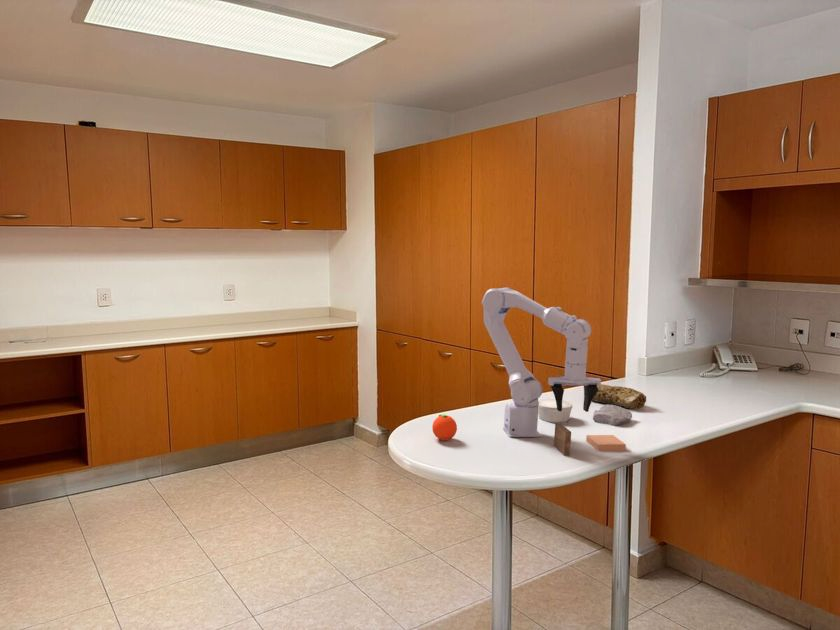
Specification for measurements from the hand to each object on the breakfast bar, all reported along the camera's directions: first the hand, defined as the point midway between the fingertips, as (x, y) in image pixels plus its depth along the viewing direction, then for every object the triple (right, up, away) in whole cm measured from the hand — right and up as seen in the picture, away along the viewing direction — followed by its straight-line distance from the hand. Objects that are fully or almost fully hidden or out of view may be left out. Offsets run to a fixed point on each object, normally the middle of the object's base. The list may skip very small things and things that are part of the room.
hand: (572, 410), depth 171 cm
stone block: (+20, -8, +25) cm, 33 cm away
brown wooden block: (-4, -10, -5) cm, 12 cm away
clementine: (-36, -8, +1) cm, 37 cm away
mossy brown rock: (+26, -5, +47) cm, 54 cm away
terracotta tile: (+5, -9, -1) cm, 10 cm away
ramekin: (0, -7, +25) cm, 26 cm away
